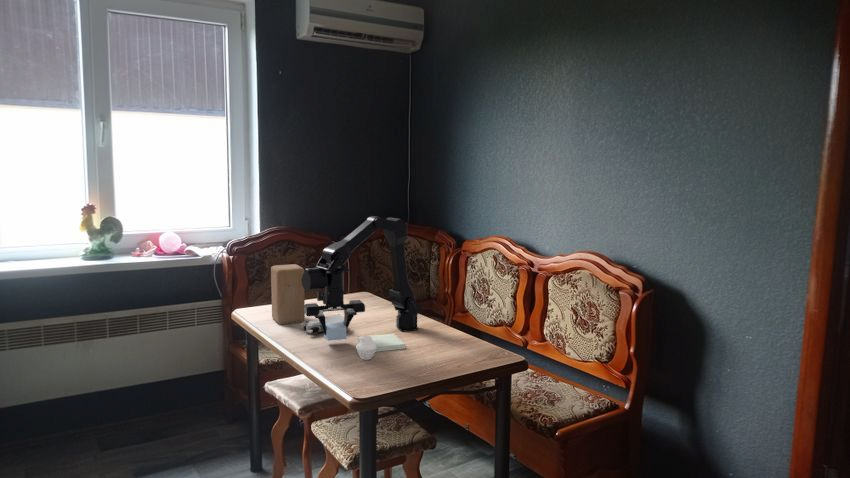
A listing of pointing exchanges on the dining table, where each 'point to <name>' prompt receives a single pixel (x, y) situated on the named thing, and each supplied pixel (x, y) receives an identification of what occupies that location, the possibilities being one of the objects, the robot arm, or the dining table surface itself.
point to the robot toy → (316, 327)
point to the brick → (335, 331)
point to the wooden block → (287, 294)
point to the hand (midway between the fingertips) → (334, 334)
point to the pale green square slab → (387, 342)
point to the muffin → (366, 348)
